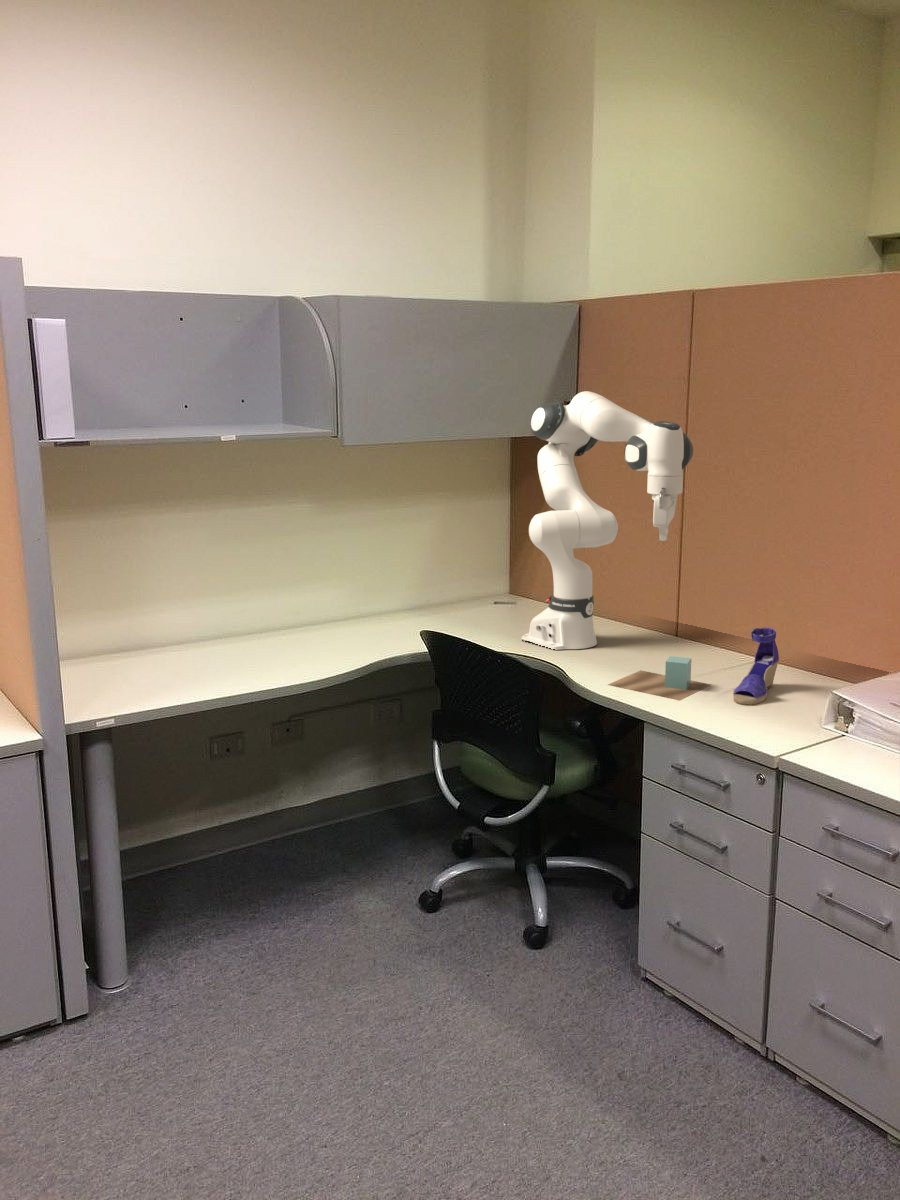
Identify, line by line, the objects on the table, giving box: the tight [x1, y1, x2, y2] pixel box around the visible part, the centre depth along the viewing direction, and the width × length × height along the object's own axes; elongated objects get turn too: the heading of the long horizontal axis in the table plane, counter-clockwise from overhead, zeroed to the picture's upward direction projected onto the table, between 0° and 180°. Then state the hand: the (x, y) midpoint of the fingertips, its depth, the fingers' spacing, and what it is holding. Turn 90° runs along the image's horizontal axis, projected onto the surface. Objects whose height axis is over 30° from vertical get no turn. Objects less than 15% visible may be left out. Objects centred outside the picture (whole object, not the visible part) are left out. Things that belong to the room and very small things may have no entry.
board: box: [607, 670, 712, 702], centre depth 248 cm, size 20×16×1 cm
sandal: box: [732, 626, 780, 706], centre depth 240 cm, size 8×20×15 cm, turn 136°
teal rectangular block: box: [664, 655, 692, 690], centre depth 246 cm, size 5×5×7 cm
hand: (663, 540), depth 258 cm, fingers closed
